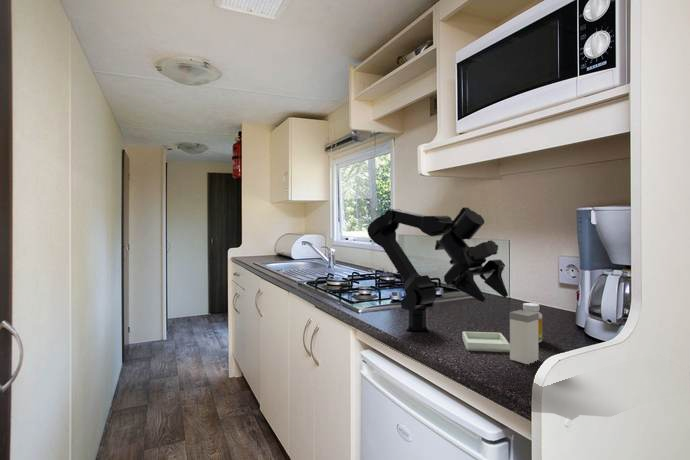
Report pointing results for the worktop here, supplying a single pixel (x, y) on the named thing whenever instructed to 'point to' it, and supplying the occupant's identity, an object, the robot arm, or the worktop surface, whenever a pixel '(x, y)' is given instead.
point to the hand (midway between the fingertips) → (495, 298)
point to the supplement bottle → (535, 308)
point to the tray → (485, 342)
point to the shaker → (524, 336)
